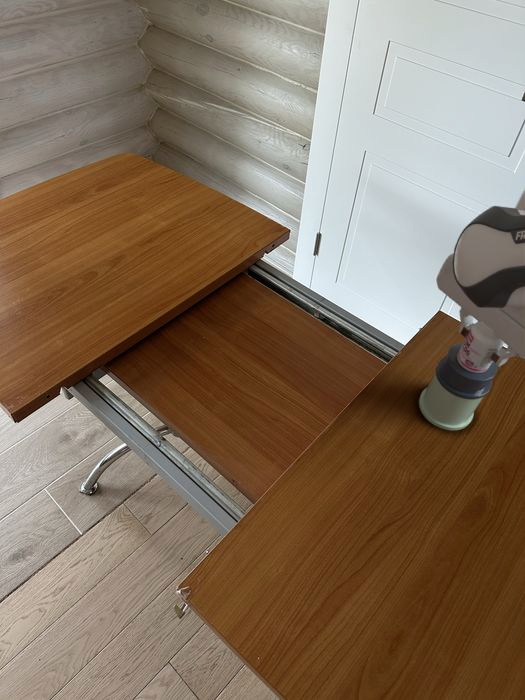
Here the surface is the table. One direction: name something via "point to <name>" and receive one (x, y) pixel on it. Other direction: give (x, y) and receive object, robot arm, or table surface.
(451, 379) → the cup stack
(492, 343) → the pill bottle
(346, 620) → the table surface
